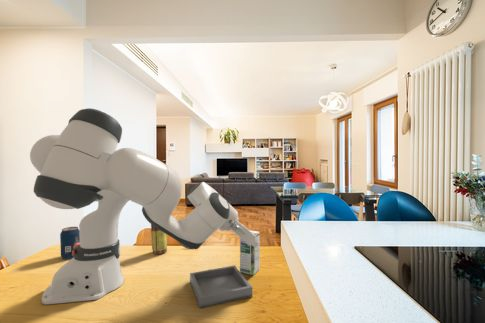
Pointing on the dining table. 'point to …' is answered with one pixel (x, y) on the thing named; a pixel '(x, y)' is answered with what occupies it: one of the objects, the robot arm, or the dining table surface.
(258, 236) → the syrup box
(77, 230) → the soda can
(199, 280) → the tray
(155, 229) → the sauce bottle
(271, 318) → the dining table surface
